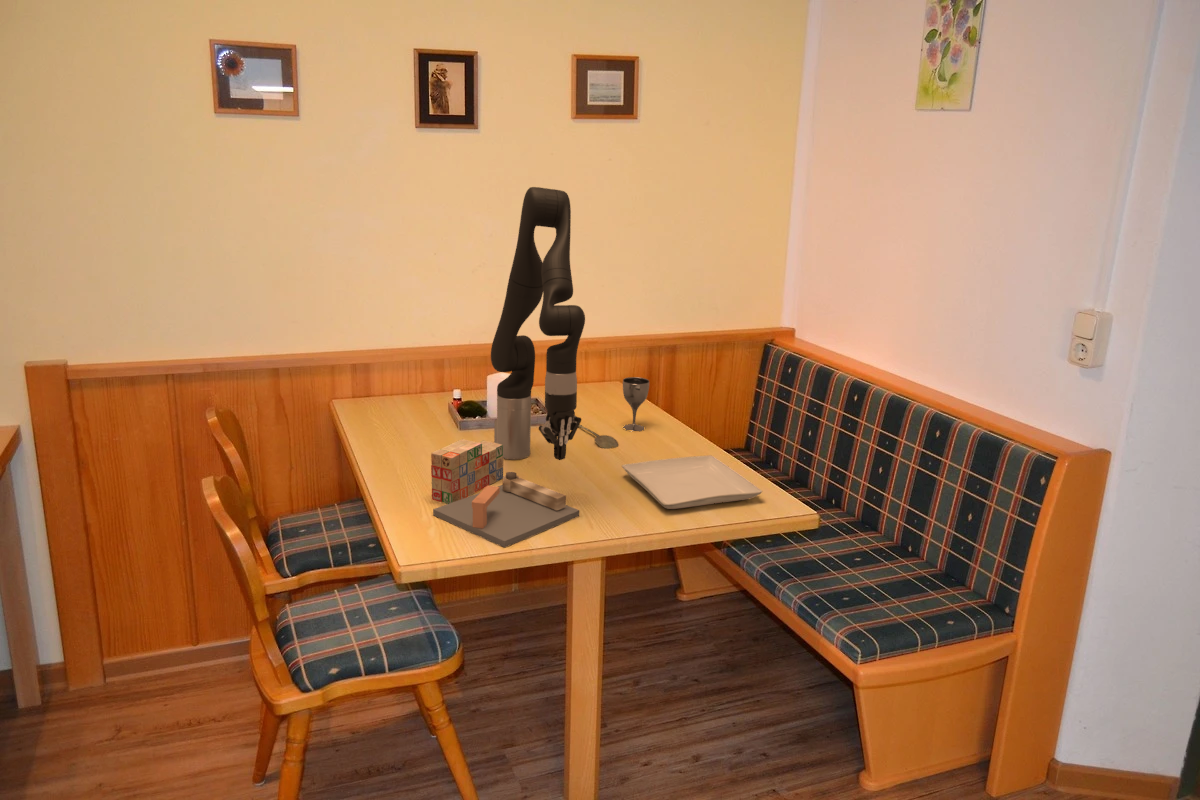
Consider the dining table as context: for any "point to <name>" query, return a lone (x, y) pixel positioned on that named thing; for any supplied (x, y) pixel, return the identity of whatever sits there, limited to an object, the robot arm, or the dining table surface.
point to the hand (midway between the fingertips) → (559, 458)
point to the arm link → (533, 491)
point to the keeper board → (502, 516)
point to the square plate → (691, 481)
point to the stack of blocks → (465, 469)
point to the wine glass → (635, 397)
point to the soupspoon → (603, 440)
